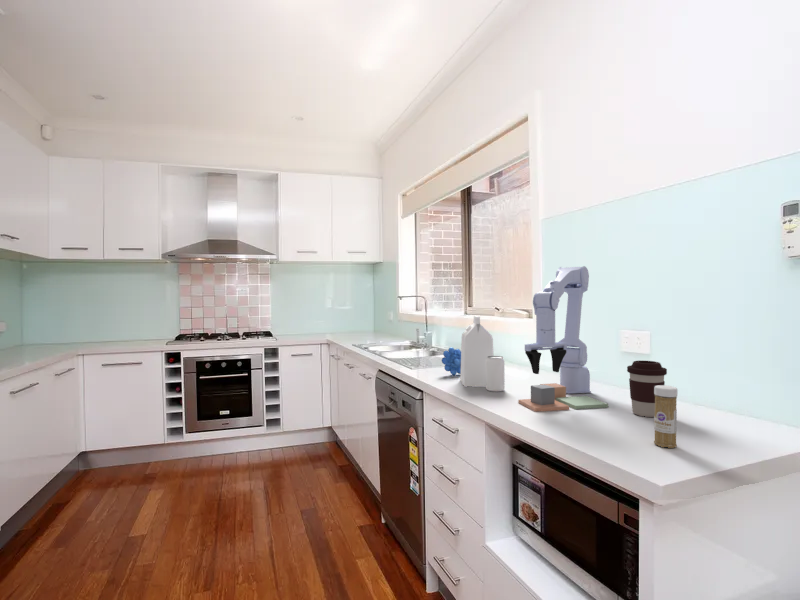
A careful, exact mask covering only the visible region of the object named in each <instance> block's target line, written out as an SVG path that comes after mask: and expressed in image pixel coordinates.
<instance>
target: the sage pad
mask: <svg viewBox="0 0 800 600" xmlns="http://www.w3.org/2000/svg"><path fill="white" fill-rule="evenodd" d="M556 401H558V402H561V403H563V404H565V405H568V406H569V408H571V409H574V410H582V409H583V410H584V409H599V408H601V409H602V408H609V404H608V403H607V402H604V401H601V400H599V399H596V398H593V397H590V396H587V395H580V396H579V395H577V396H566V397H558V398H556Z"/></svg>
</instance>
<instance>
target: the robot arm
mask: <svg viewBox="0 0 800 600" xmlns="http://www.w3.org/2000/svg"><path fill="white" fill-rule="evenodd" d="M589 279H590V273H589V270H588V268H587V266H585V265H583V266H569V267H568V266H566V267H563V266H559V267H558V268H557V269H556V272H555V279H554V280H550V281H549V282H548V284H546V286H545V287H544V288H543V289H542V290H541V291H537V292H536V293H534V295H533V299H532V306H533V308H534V315H535V317H536V320H535V323H536V326H535V328H536V330H535V331H536V333H535V334H536V336H535V338H536V339H535V340H536V342H534V343H527V344H524V351H525V355H526V356H527V359H528V360H529V361H528V362H529V364H530V366H531V370H532V373H533V374H535V375H539V374H540V361H541V356H542V355H543V354H542V352H539V351H545V350H546V351H547V350H549V352H550V355H551V361H552V363H551V364H552V367H551V368H552V372H555V373H559V377H560V378H559V384H560V385H562V386H565V387H566V395H567V394H568V395H571V394H585V393H586V394H589V393H592V390H591V386H590V385H591V384H590V383H591V382H590V380H591V378H590V377H591V374H590V370H589V368H588V367H587V366H585V365H586V364H587V362H588V347H587V345H586V343H585V342H584V341H582V340H581V339H580V331H581V329H580V328H581V318H582V306H583V305H582V304H583V297H584V293H585V292H587V291H588V288H589ZM564 293H566V294H567V303H566V315H565V328H564V329H565V330H564V338H562V339H560V340H559V341H557V342H556V310H557V309H558V307H559V302H560V298H561V297H562V296H563V294H564Z"/></svg>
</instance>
